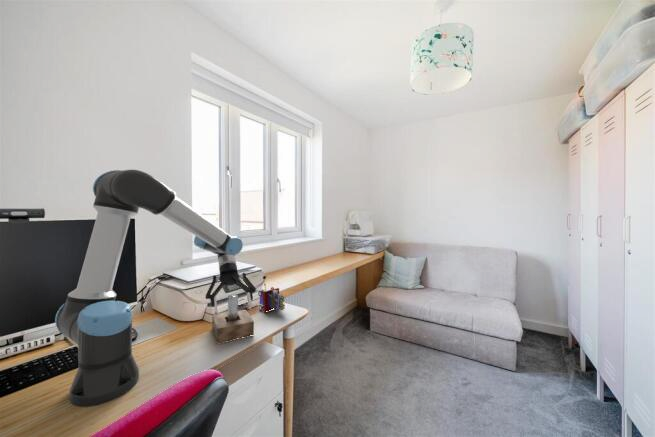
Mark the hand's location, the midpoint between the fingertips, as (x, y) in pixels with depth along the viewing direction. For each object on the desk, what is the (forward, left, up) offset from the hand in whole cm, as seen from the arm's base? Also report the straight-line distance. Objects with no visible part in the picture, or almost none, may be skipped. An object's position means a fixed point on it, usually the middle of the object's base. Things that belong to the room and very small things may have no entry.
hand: (233, 310), depth 106 cm
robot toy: (+22, +17, -10) cm, 30 cm away
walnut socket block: (0, +2, -10) cm, 10 cm away
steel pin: (0, +2, -9) cm, 9 cm away
